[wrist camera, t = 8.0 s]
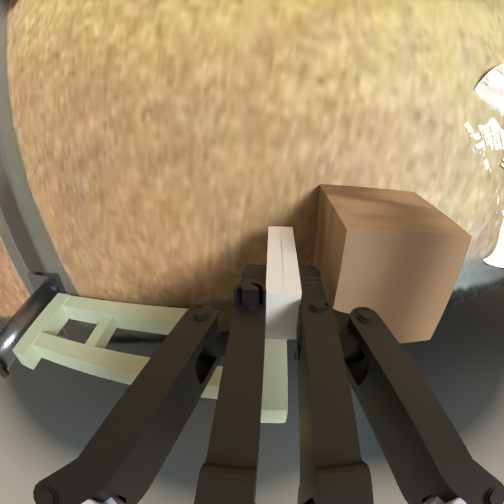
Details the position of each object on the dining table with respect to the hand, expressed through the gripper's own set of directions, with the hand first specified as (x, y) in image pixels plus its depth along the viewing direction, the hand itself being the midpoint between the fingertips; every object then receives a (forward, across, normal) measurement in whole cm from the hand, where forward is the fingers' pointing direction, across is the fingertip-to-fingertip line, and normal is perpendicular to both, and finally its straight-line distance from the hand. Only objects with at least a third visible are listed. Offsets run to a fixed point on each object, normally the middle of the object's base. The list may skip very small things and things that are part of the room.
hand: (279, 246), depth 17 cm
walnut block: (+2, +6, 0) cm, 6 cm away
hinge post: (+2, -24, -7) cm, 25 cm away
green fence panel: (+1, -10, -7) cm, 12 cm away
